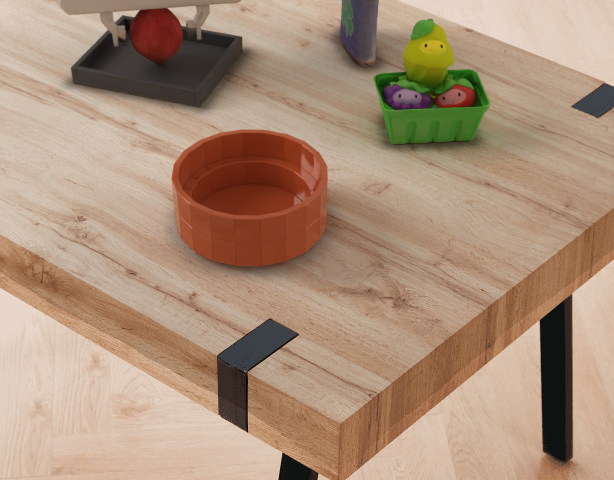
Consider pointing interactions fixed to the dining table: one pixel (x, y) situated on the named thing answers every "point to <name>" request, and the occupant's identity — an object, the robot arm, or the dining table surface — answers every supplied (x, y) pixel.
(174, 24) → the onion
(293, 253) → the bowl
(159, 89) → the tray
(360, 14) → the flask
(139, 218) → the dining table surface
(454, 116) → the fruit basket
